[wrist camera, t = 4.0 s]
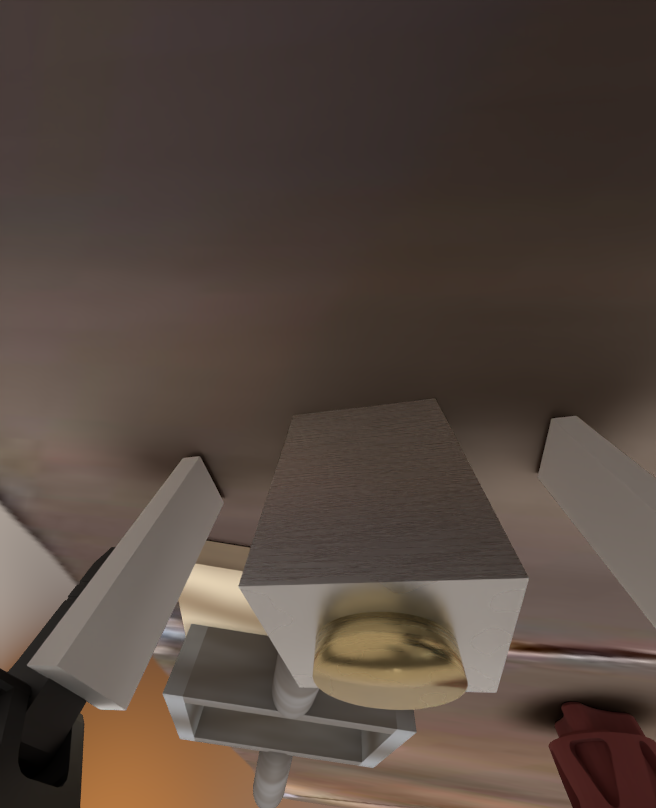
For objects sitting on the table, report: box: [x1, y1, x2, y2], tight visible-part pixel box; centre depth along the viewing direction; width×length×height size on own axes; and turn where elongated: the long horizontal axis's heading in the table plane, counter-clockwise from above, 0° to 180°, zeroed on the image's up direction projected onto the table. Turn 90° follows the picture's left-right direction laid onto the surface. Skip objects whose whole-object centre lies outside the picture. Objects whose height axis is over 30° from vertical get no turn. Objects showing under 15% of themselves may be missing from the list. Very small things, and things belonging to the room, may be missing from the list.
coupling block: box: [238, 398, 529, 710], centre depth 9 cm, size 5×5×7 cm
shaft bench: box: [163, 541, 416, 808], centre depth 18 cm, size 22×14×6 cm, turn 170°
